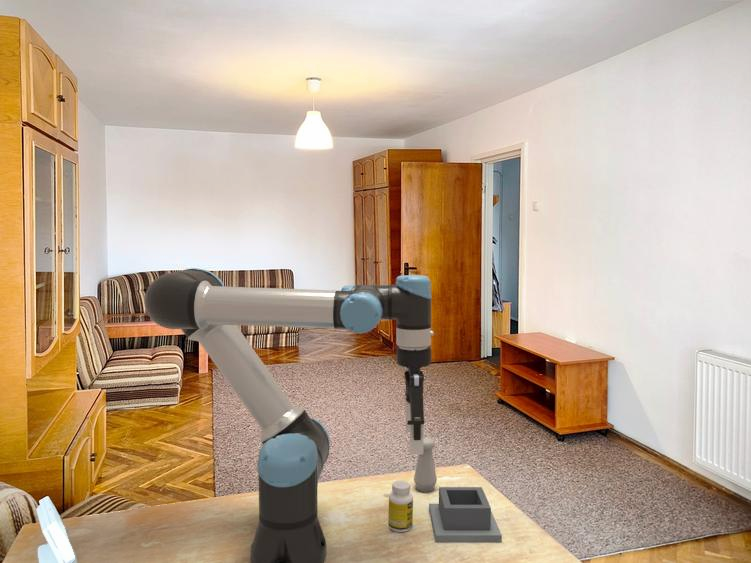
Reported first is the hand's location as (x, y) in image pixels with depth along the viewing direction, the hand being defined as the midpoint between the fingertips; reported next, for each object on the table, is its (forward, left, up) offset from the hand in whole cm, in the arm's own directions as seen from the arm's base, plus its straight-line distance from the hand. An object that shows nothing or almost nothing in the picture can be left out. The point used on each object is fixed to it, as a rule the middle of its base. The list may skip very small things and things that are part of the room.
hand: (414, 441), depth 124 cm
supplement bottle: (-2, -2, -20) cm, 20 cm away
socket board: (+7, +9, -20) cm, 23 cm away
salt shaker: (-11, +16, -20) cm, 28 cm away
